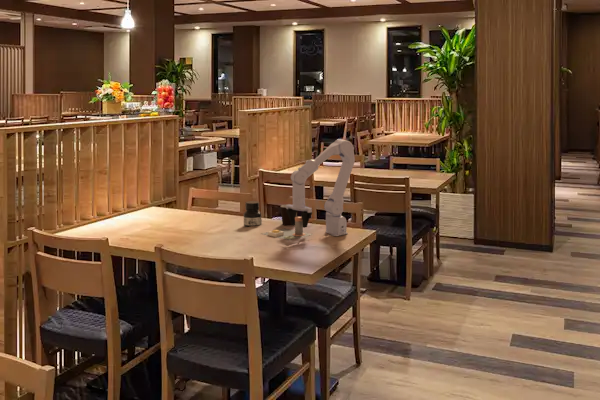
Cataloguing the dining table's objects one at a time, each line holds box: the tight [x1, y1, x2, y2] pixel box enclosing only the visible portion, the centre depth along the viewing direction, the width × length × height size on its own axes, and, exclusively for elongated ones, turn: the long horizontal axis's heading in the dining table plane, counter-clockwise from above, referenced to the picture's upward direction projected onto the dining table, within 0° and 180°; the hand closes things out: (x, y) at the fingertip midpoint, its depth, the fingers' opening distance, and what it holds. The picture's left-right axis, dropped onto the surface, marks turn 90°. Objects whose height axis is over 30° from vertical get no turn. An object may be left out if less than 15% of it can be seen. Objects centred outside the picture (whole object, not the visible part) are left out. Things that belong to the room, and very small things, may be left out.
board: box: [261, 227, 314, 241], centre depth 296 cm, size 19×16×2 cm
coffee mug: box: [280, 204, 298, 227], centre depth 319 cm, size 12×9×10 cm
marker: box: [294, 216, 304, 235], centre depth 294 cm, size 4×4×8 cm
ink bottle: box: [243, 200, 263, 228], centre depth 317 cm, size 10×9×12 cm
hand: (299, 226), depth 294 cm, fingers open, 7 cm apart
